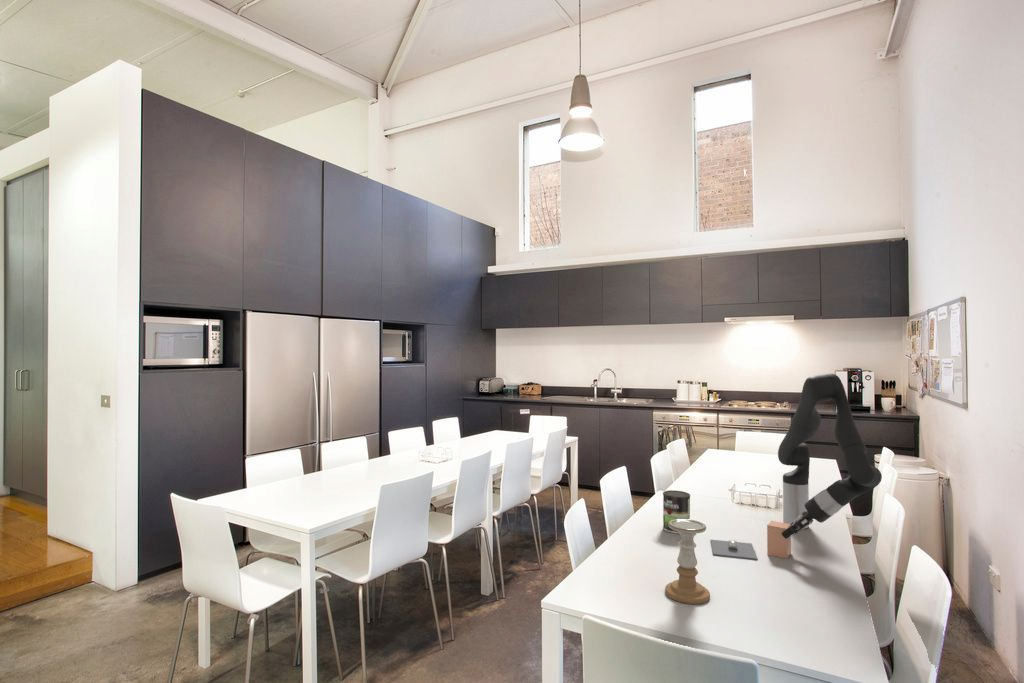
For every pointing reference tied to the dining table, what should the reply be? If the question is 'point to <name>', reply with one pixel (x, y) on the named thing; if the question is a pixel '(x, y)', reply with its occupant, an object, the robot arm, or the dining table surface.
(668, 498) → the coffee can
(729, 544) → the metal tin
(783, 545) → the tall peach brick
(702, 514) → the dining table surface
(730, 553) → the charcoal mat
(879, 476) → the robot arm
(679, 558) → the candle holder
